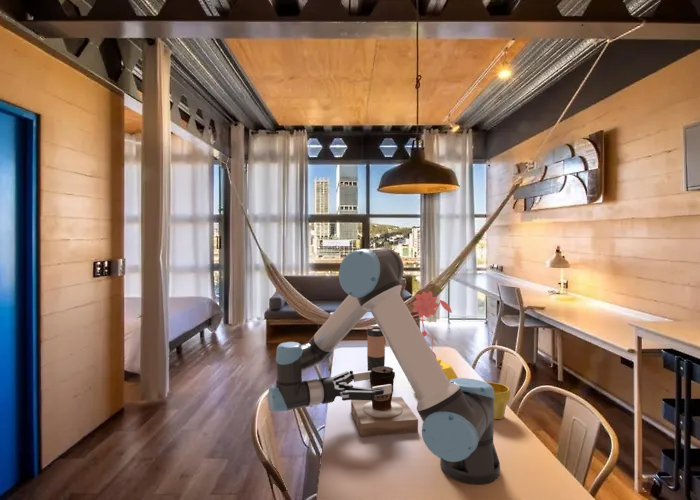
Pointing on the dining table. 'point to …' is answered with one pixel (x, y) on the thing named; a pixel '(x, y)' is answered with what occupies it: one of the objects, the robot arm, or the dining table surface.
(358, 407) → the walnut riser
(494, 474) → the robot arm
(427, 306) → the figurine
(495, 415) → the plant pot
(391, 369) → the coffee cup
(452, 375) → the teapot
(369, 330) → the travel mug
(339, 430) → the dining table surface
